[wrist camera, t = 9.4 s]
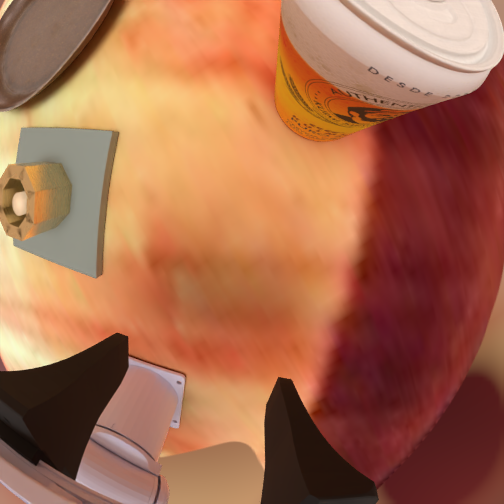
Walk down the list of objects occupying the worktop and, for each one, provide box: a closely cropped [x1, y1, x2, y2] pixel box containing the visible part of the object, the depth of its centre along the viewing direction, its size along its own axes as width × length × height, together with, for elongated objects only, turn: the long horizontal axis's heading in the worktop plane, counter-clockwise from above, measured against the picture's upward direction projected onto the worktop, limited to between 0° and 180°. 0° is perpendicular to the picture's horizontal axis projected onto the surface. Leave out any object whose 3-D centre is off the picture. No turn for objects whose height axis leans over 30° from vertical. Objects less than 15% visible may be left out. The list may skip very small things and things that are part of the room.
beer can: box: [274, 0, 504, 142], centre depth 10 cm, size 6×6×15 cm
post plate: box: [12, 128, 119, 278], centre depth 17 cm, size 12×12×5 cm
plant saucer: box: [0, 0, 114, 112], centre depth 13 cm, size 21×21×3 cm
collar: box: [0, 161, 72, 241], centre depth 16 cm, size 6×6×4 cm
